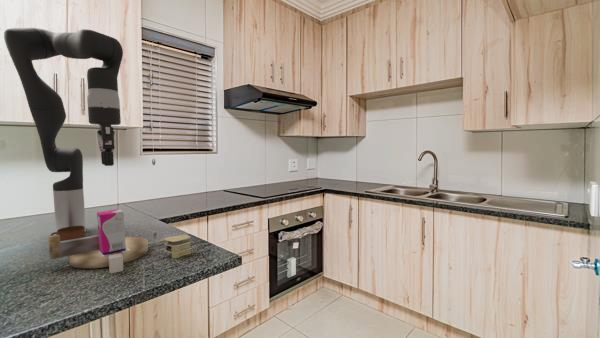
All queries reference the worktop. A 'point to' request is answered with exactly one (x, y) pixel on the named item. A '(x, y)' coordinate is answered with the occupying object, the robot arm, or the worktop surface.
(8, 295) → the worktop surface
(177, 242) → the beige layered block
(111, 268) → the white block
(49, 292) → the worktop surface
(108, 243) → the supplement box
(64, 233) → the cup and saucer
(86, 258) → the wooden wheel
